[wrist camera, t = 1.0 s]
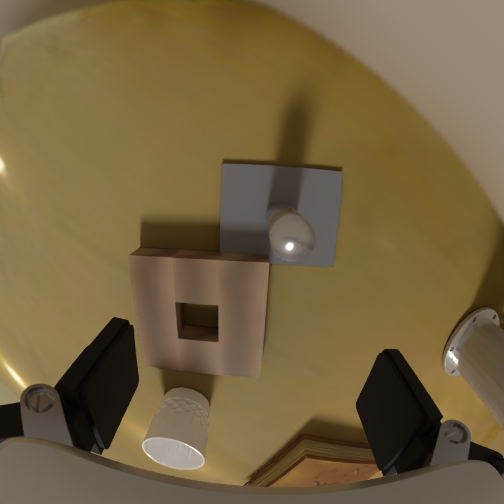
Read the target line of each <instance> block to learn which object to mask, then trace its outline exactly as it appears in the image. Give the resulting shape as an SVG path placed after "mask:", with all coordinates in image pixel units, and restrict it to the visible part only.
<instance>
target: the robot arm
mask: <svg viewBox="0 0 504 504" xmlns="http://www.w3.org/2000/svg"><path fill="white" fill-rule="evenodd" d="M499 323H500V321H499V316H498V314H497V313H496V311H494V310H493V309H491V308H489V307H482V308H479V309H477V310H475V311H474V312H472V313H471V314H469V315H468V316H467V317H466V318H465V319H464V320H463V321H462V322H461V323H460V324H459V325H458V327H457V328H456V329H455V331H454V332H453V334H452V335H451V337H450V339H449V341H448V343H447V345H446V347H445V350H444V353H443V359H442V362H443V367H444V369H445V371H446V372H447V373H448V374H449V375H451V376H461V375H462V376H463V378H464V379H465V380H466V381H467V383H468V384H469V385H470V386H471V388H472V389H473V390H474V391H475V393H476V394H477V395H478V396H479V398H480V399H481V400H482V402H483V403H484V404H485V406H486V407H487V408H488V410H489V411H490V412H491V414H492V415H493V416H494V418H495V419H496V420H497V422H498V423H499V425H500V426H501V427H502V429H503V430H504V330H503V329H501V328H500V327H499ZM138 383H139V375H138V367H137V359H136V349H135V338H134V327H133V325H130V323H129V321H128V320H125V319H121V318H116V317H114V318H112V319H111V321H110V322H109V323H108V324H107V325H106V326H105V327H104V329H103V330H102V331H101V332H100V333H99V335H98V336H97V337H96V338H95V339H94V341H93V342H92V343H91V344H90V345H89V346H87V347H86V348H85V349H84V350H83V352H82V353H81V354H80V355H79V357H78V358H77V359H76V360H75V361H74V363H73V364H72V365H71V366H70V368H69V369H68V370H67V371H66V373H65V374H64V375H63V376H62V378H61V379H60V380H59V382H58V383H57V384H56V385H55V387H54V388H53V387H51V386H50V385H46V384H34V385H31V386H29V387H28V388H26V389H25V390H24V391H23V393H22V395H21V397H20V402H18V403H12V404H6V405H0V504H504V458H503V456H502V455H501V454H500V453H498V452H496V451H494V450H491V449H489V448H486V447H484V446H481V445H478V444H476V443H473V442H471V441H470V440H471V434H470V431H469V429H468V428H467V427H466V425H464V424H463V423H462V422H459V421H457V420H447V421H445V422H444V423H443V424H442V423H441V422H440V420H441V419H442V418H443V416H442V414H441V412H440V411H439V409H438V408H437V406H436V405H435V403H434V401H433V400H432V398H431V397H430V395H429V394H428V392H427V391H426V389H425V388H424V386H423V385H422V383H421V382H420V380H419V379H418V377H417V376H416V374H415V373H414V371H413V370H412V368H411V367H410V366H409V364H408V363H407V361H406V360H405V358H404V357H403V355H402V354H401V353H400V351H399V350H398V349H384V350H383V351H382V353H379V354H378V356H377V358H376V361H375V363H374V365H373V368H372V370H371V372H370V374H369V376H368V378H367V381H366V383H365V385H364V387H363V389H362V391H361V393H360V395H359V397H358V399H357V402H356V409H357V412H358V414H359V417H360V420H361V422H362V425H363V428H364V431H365V433H366V436H367V439H368V442H369V445H370V447H371V450H372V453H373V456H374V459H375V462H376V465H377V468H378V469H379V470H381V471H382V474H383V477H381V478H376V479H371V480H365V481H358V482H352V483H344V484H335V485H324V486H310V487H251V486H237V485H226V484H217V483H209V482H202V481H196V480H190V479H184V478H179V477H174V476H169V475H165V474H160V473H156V472H152V471H148V470H145V469H141V468H137V467H133V466H130V465H126V464H123V463H120V462H117V461H113V460H110V459H107V458H105V457H102V456H99V455H96V454H93V453H90V452H91V451H92V452H94V453H97V454H100V455H101V454H102V452H103V450H104V449H108V448H109V447H110V445H111V442H112V440H113V438H114V436H115V433H116V431H117V429H118V427H119V425H120V423H121V420H122V418H123V416H124V414H125V412H126V410H127V408H128V405H129V403H130V401H131V399H132V397H133V395H134V393H135V391H136V389H137V386H138ZM396 473H397V474H396ZM393 474H395V475H393ZM389 475H391V476H389ZM384 476H386V477H384Z"/></svg>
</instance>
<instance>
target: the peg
mask: <svg viewBox="0 0 504 504" xmlns="http://www.w3.org/2000/svg"><path fill="white" fill-rule="evenodd" d="M266 223H267V228H268V233H269V238H270V244H271V248H272V250H273V252H274V253H275V254H276V255H277V256H278V257H279V258H280V259H282V260H284V261H288V262H297V261H301V260H303V259H305V258H306V257H308V256H309V255H310V254H311V252H312V251H313V249H314V247H315V243H316V235H315V232H314V229H313V227H312V226H311V225H310V224H309V223H308V222H307V221H306V220H305V219H304V218H303V217H302V216H301V215H300V214H299V213H298V212H297V211H296V210H295V209H294V208H293V207H292V206H291V205H290V204H288V203H286V202H275V203H273V204H272V205H271V206H270V207H269V208H268V209H267V212H266Z"/></svg>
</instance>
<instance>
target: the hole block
mask: <svg viewBox="0 0 504 504" xmlns="http://www.w3.org/2000/svg"><path fill="white" fill-rule="evenodd" d="M129 261H130V272H131V282H132V291H133V299H134V306H135V313H136V320H137V327H138V333H139V339H140V344H141V350H142V355H143V360H144V365H145V366H150V367H156V368H163V369H170V370H177V371H185V372H194V373H204V374H214V375H227V376H243V377H261V366H262V354H263V342H264V329H265V316H266V303H267V289H268V275H269V256H268V255H262V254H242V253H222V252H220V251H203V250H183V249H163V248H142V247H140V248H138V249H137V250H136V251H134V252H133V253H131V254H130V255H129ZM183 303H191V304H204V305H218V317H219V328H213V327H201V326H189V325H184V314H183Z"/></svg>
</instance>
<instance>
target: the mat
mask: <svg viewBox="0 0 504 504" xmlns="http://www.w3.org/2000/svg"><path fill="white" fill-rule="evenodd" d="M342 174H343V172H340V171H331V170H321V169H311V168H299V167H286V166H271V165H252V164H222V175H221V206H220V252H222V253H242V254H262V255H268V256H269V264H277V265H299V266H322V267H333V264H334V257H335V249H336V240H337V232H338V222H339V212H340V201H341V189H342ZM275 202H286V203H288V204H290V205H291V206H292V207H293V208H294V209H295V210H296V211H297V212H298V213H299V214H300V215H301V216H302V217H303V218H304V219H305V220H306V221H307V222H308V223H309V224H310V225H311V226H312V227H313V229H314V232H315V235H316V243H315V247H314V249H313V251H312V252H311V254H310V255H309V256H308V257H306V258H305V259H303V260H301V261H297V262H288V261H284V260H282V259H280V258H279V257H278V256H277V255H276V254H275V253H274V252H273V250H272V248H271V244H270V238H269V233H268V228H267V223H266V212H267V209H268V208H269V207H270V206H271V205H272V204H273V203H275Z"/></svg>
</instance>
